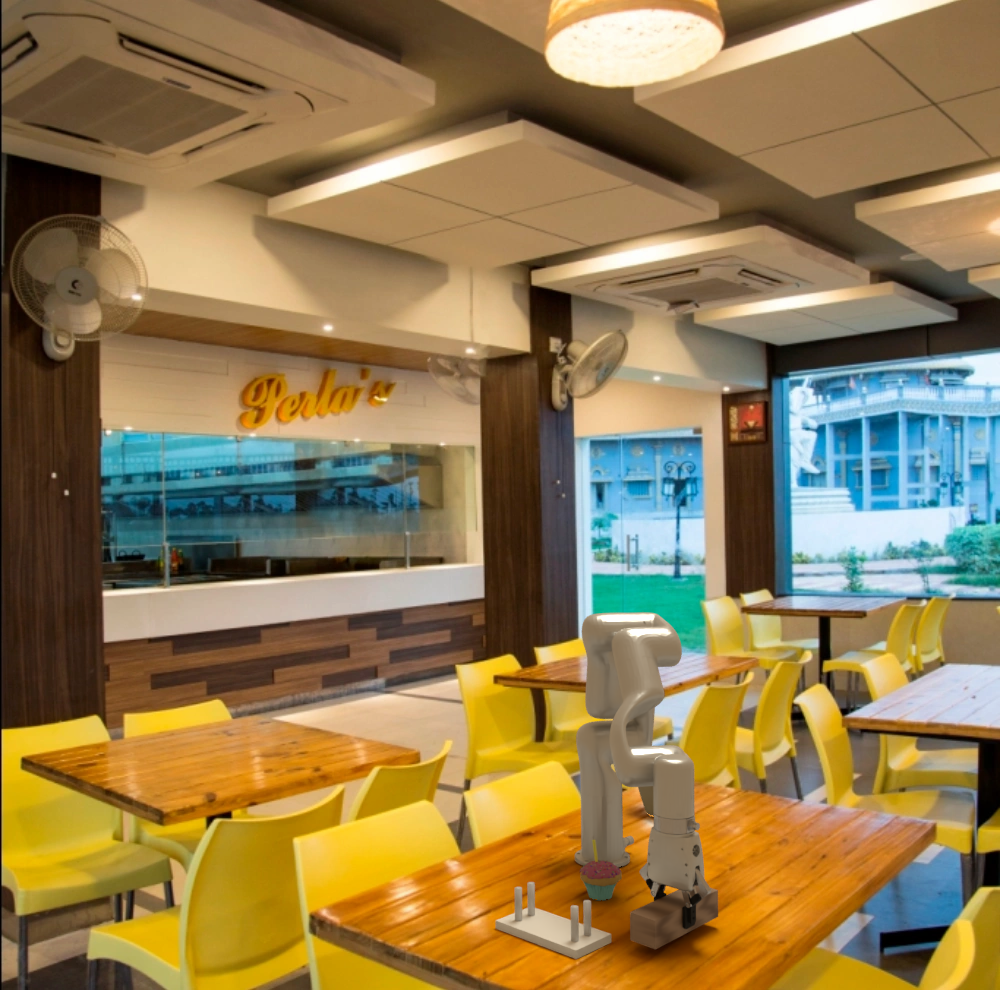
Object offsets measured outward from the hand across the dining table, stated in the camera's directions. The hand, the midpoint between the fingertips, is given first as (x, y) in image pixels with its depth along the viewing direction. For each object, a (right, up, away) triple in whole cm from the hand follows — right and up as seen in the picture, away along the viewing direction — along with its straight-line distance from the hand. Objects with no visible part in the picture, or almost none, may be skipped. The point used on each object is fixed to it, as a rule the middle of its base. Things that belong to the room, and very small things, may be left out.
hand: (674, 920), depth 184 cm
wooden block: (0, -1, 0) cm, 1 cm away
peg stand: (-23, -3, +2) cm, 23 cm away
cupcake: (-11, -4, +22) cm, 25 cm away
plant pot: (+11, -7, +81) cm, 82 cm away
